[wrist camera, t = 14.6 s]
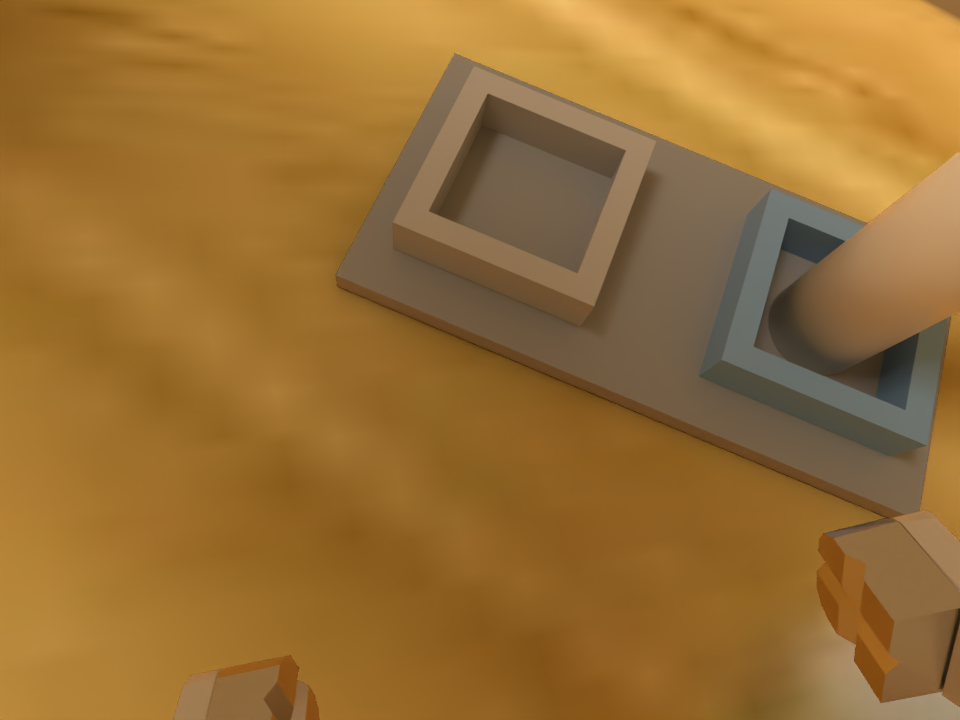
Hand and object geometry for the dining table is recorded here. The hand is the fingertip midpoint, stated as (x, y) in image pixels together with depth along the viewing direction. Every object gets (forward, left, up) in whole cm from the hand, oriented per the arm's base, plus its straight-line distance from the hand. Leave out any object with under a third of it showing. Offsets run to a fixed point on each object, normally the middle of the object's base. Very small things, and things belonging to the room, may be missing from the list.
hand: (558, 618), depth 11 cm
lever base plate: (+3, +15, -15) cm, 21 cm away
